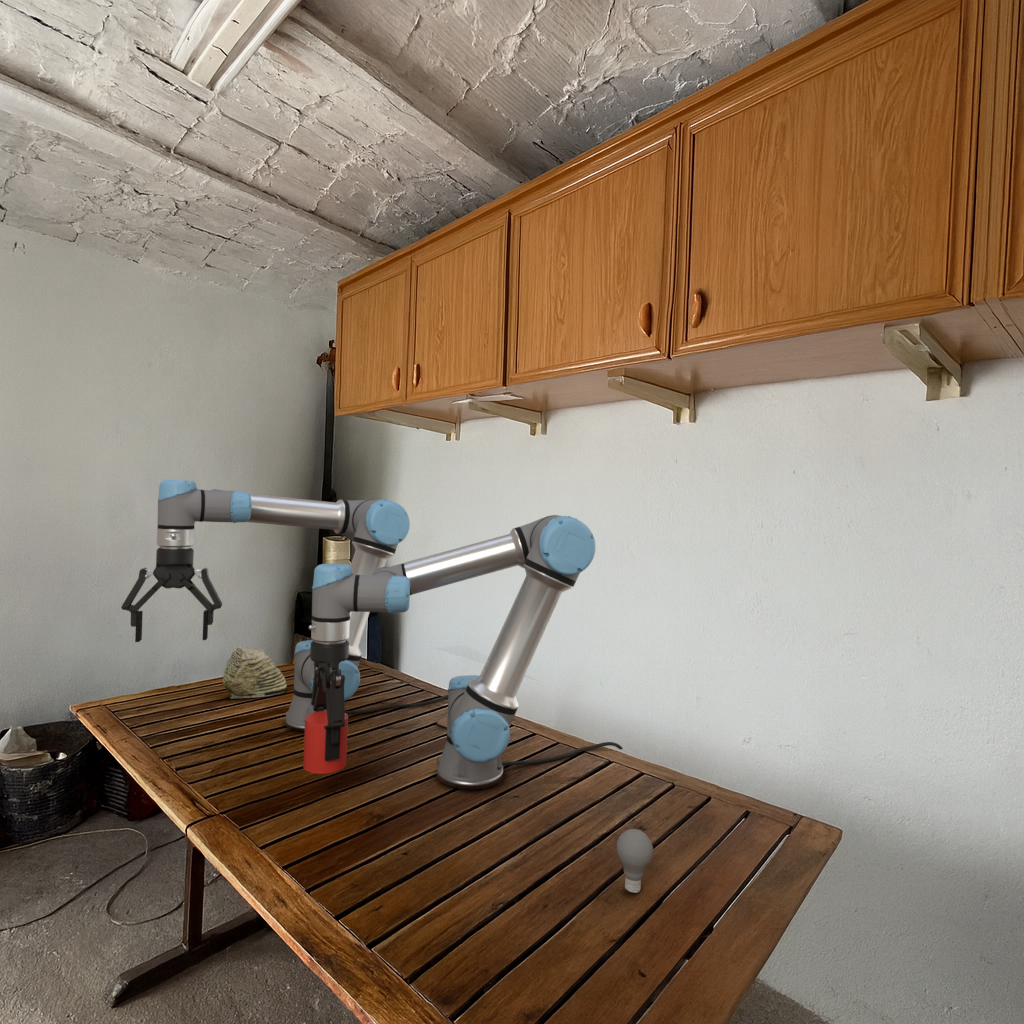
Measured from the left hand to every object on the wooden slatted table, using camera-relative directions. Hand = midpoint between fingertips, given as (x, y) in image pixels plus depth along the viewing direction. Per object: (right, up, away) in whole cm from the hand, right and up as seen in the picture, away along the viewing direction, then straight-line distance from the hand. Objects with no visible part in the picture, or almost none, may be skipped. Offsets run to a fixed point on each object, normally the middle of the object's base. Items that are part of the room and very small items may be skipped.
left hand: (172, 640), depth 145 cm
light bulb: (+98, -34, -39) cm, 111 cm away
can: (+40, -22, -16) cm, 48 cm away
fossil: (-3, -28, +53) cm, 60 cm away
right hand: (+40, -19, -16) cm, 47 cm away
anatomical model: (+63, -31, +36) cm, 79 cm away
